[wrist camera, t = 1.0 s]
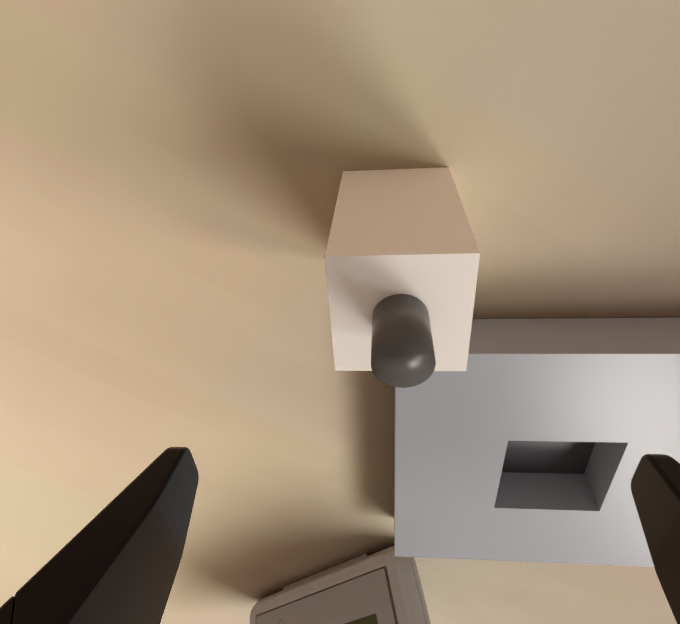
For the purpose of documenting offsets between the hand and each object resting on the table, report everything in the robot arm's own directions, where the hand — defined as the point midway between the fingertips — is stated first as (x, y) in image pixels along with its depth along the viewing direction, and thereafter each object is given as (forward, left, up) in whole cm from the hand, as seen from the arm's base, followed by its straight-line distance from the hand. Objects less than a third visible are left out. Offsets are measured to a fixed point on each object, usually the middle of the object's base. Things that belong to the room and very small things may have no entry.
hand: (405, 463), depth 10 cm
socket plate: (-8, +13, -12) cm, 19 cm away
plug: (0, 0, -12) cm, 12 cm away
